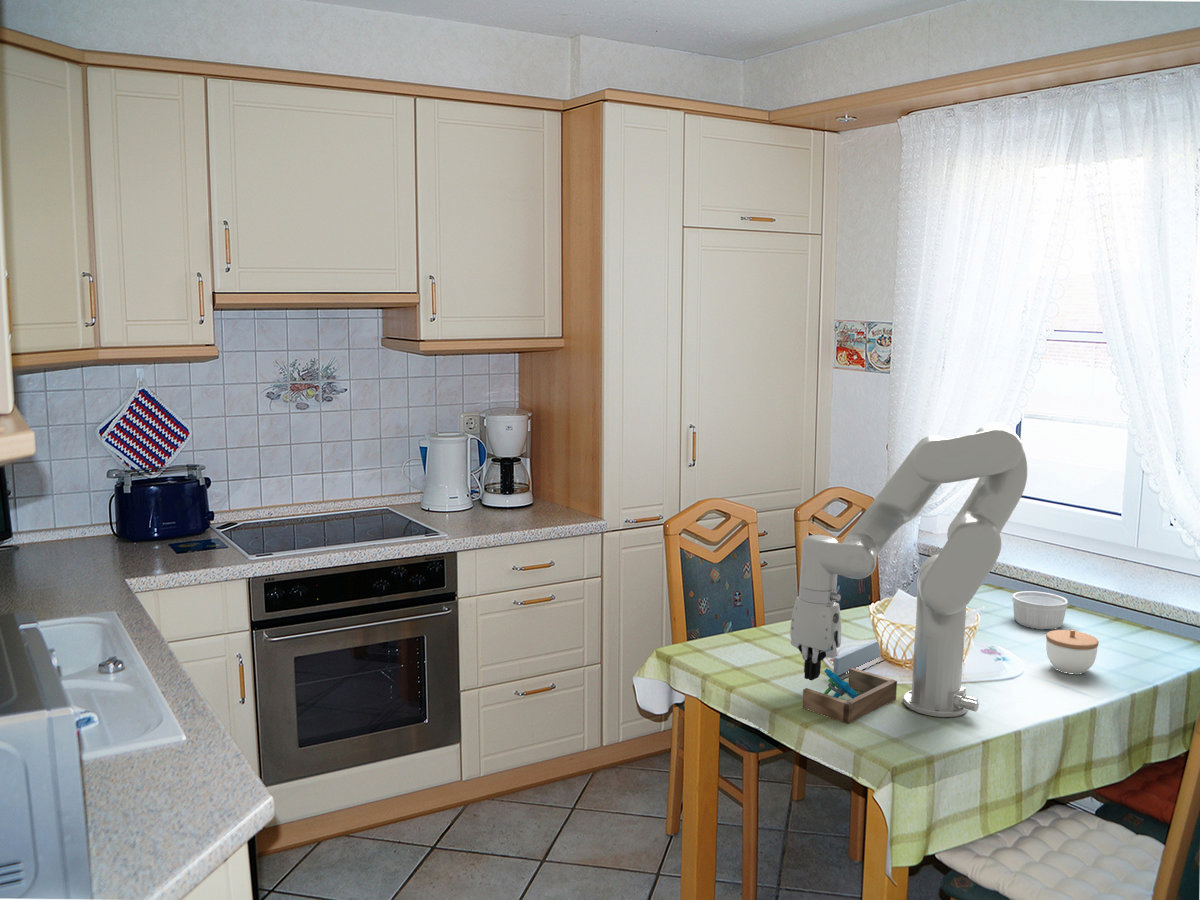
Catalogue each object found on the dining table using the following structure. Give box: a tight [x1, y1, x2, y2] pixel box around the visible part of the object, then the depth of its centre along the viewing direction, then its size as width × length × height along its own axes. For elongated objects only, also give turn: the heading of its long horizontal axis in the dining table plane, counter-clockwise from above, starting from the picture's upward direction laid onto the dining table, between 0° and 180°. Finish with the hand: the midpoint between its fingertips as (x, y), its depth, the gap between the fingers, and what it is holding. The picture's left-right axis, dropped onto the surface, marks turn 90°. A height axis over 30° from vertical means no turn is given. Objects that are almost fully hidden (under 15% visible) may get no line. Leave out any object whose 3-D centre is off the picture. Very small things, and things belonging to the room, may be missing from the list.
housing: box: [802, 668, 898, 725], centre depth 217 cm, size 17×38×4 cm, turn 134°
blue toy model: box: [822, 668, 860, 699], centre depth 207 cm, size 11×6×10 cm
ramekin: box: [1011, 590, 1069, 630], centre depth 262 cm, size 13×13×7 cm
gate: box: [833, 638, 881, 676], centre depth 228 cm, size 1×18×4 cm, turn 135°
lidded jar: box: [1045, 629, 1099, 674], centre depth 228 cm, size 11×11×9 cm
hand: (811, 677), depth 214 cm, fingers closed
